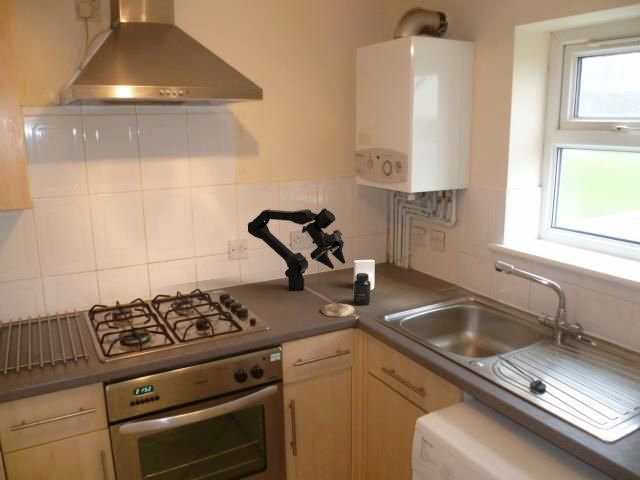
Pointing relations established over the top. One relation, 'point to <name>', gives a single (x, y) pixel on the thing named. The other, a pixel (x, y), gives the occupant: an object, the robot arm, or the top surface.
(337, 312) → the beige round plate
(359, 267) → the cylinder with rectangular tab
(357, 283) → the supplement bottle
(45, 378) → the top surface
